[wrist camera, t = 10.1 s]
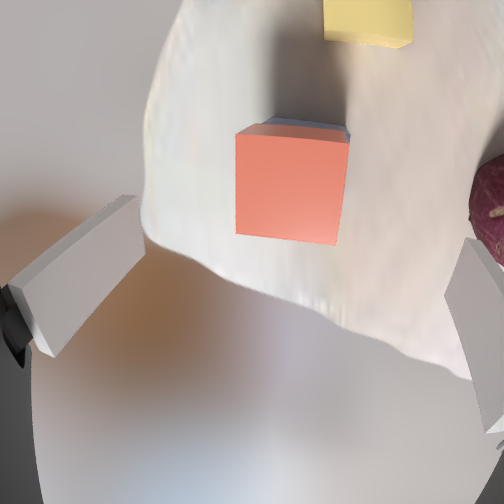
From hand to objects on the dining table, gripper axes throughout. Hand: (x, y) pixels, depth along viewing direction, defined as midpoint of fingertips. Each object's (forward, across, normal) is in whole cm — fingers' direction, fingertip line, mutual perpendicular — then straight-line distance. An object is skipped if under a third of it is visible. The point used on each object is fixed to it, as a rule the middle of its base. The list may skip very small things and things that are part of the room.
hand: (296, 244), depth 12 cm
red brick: (+11, -1, 0) cm, 11 cm away
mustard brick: (+16, +3, +13) cm, 21 cm away
